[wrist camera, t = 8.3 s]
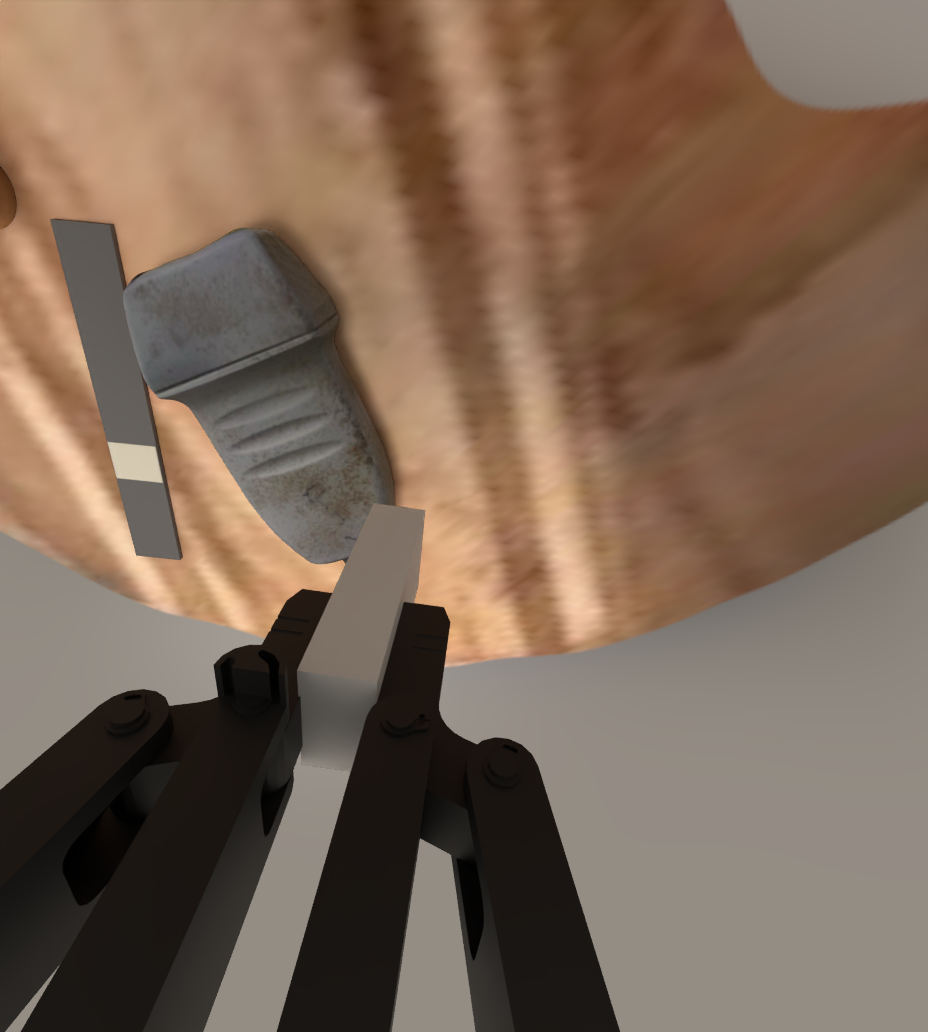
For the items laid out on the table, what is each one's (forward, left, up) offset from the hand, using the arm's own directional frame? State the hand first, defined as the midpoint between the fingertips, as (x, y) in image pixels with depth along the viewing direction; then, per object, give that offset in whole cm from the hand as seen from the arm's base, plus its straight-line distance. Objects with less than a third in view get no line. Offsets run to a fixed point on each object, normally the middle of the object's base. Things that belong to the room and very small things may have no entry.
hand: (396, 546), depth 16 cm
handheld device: (+3, -8, -17) cm, 19 cm away
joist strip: (+3, -19, -16) cm, 25 cm away
